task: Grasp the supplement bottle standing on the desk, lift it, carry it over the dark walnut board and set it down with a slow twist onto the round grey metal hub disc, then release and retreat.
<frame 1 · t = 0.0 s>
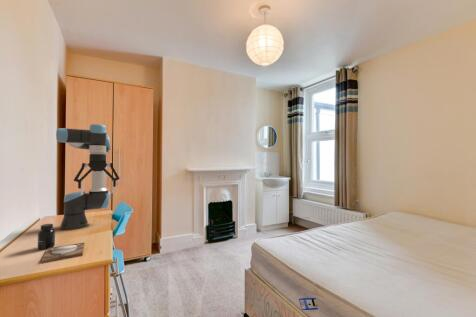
hand: (97, 193, 117), 28 cm above the table, fingers open, 13 cm apart
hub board: (64, 252, 109), on the table
supplement bottle: (46, 248, 115), on the table
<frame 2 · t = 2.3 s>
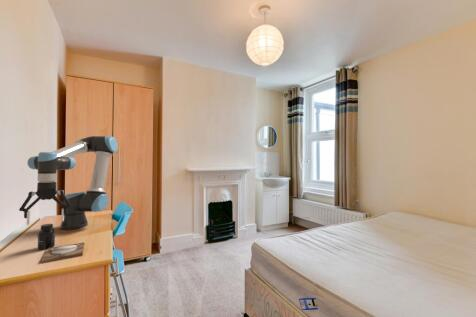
hand: (46, 222, 115), 13 cm above the table, fingers open, 13 cm apart
nothing on the table moved.
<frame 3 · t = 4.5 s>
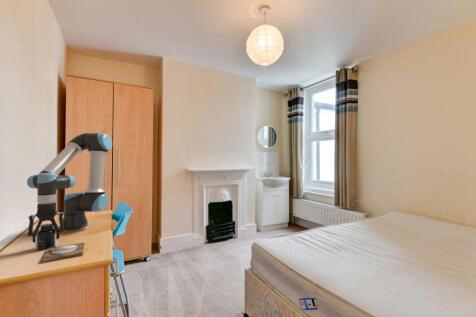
hand: (46, 246, 115), 1 cm above the table, fingers closed on supplement bottle, 7 cm apart
supplement bottle: (46, 248, 115), on the table, touching gripper
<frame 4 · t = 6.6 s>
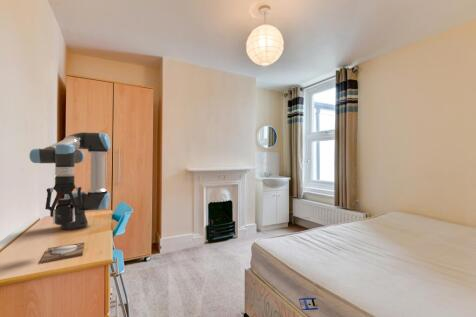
hand: (64, 222, 109), 15 cm above the table, fingers closed on supplement bottle, 7 cm apart
supplement bottle: (64, 223, 109), point 15 cm above the table, touching gripper
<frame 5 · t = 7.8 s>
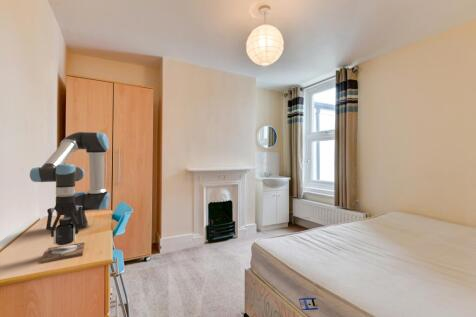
hand: (65, 241, 109), 5 cm above the table, fingers closed on supplement bottle, 7 cm apart
supplement bottle: (65, 243, 109), point 5 cm above the table, touching gripper
when the fingers open (3 cm above the table, at t = 8.9 s): supplement bottle stays where it is, resting on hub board.
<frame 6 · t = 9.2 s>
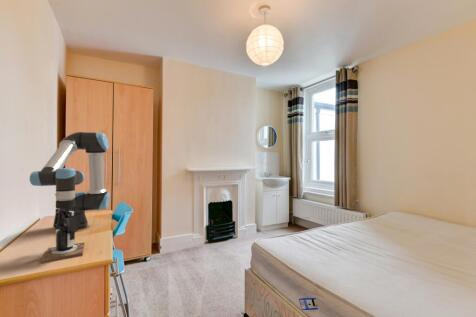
hand: (65, 244, 109), 4 cm above the table, fingers open, 10 cm apart
supplement bottle: (64, 249, 109), point 2 cm above the table, touching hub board
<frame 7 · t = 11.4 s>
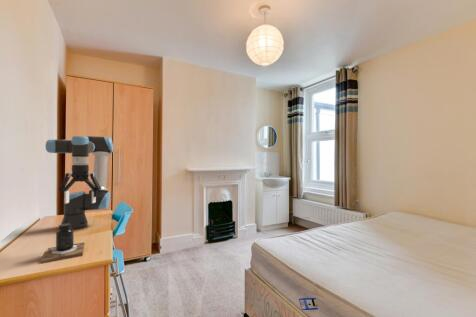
hand: (80, 203, 121), 22 cm above the table, fingers open, 13 cm apart
nothing on the table moved.
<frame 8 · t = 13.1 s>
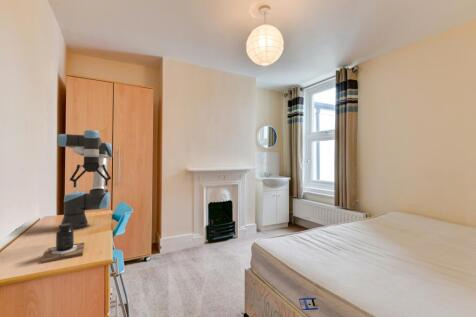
hand: (91, 192, 131), 27 cm above the table, fingers open, 13 cm apart
nothing on the table moved.
at the end: supplement bottle 0.0 cm from the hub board (horizontally); supplement bottle tilted 0°; the gripper is holding nothing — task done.
